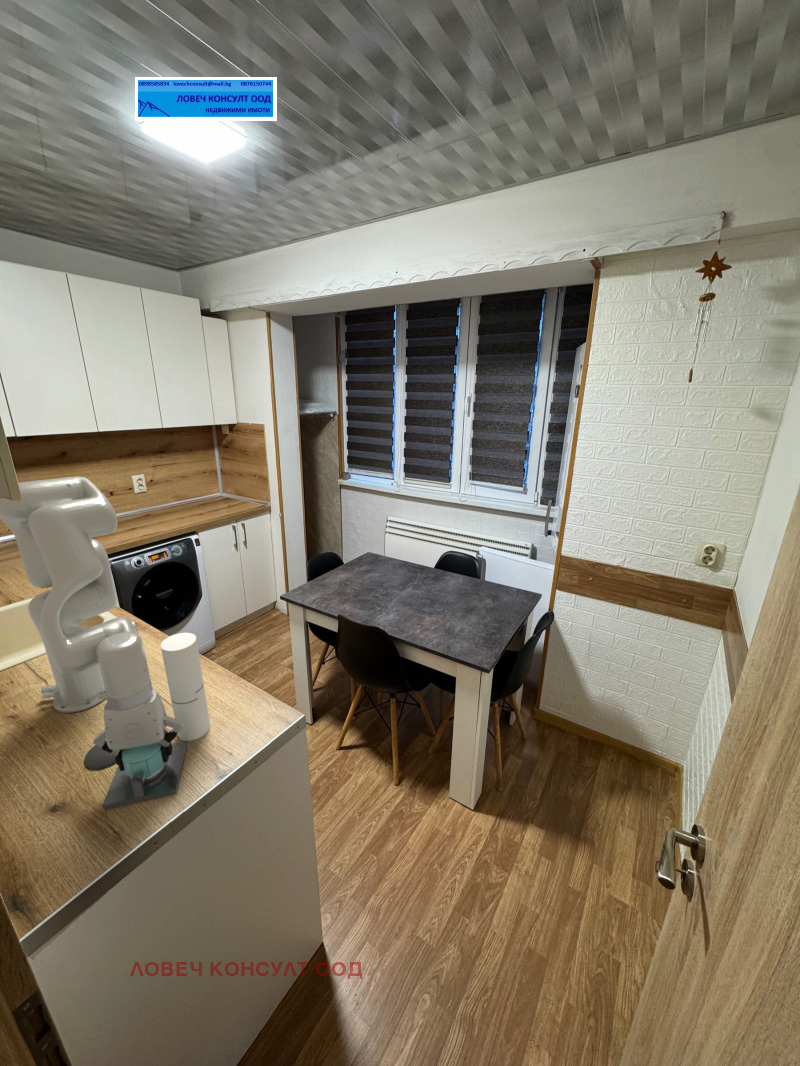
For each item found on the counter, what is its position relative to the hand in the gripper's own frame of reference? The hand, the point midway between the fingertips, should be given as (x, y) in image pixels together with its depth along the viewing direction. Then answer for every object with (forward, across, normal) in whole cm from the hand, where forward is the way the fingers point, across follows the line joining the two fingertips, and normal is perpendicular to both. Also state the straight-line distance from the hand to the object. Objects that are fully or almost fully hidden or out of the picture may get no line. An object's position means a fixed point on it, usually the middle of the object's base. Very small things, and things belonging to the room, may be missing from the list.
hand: (146, 760), depth 88 cm
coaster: (+4, -10, +8) cm, 14 cm away
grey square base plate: (+4, 0, 0) cm, 4 cm away
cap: (+1, 0, 0) cm, 1 cm away
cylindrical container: (+4, +7, +11) cm, 14 cm away
